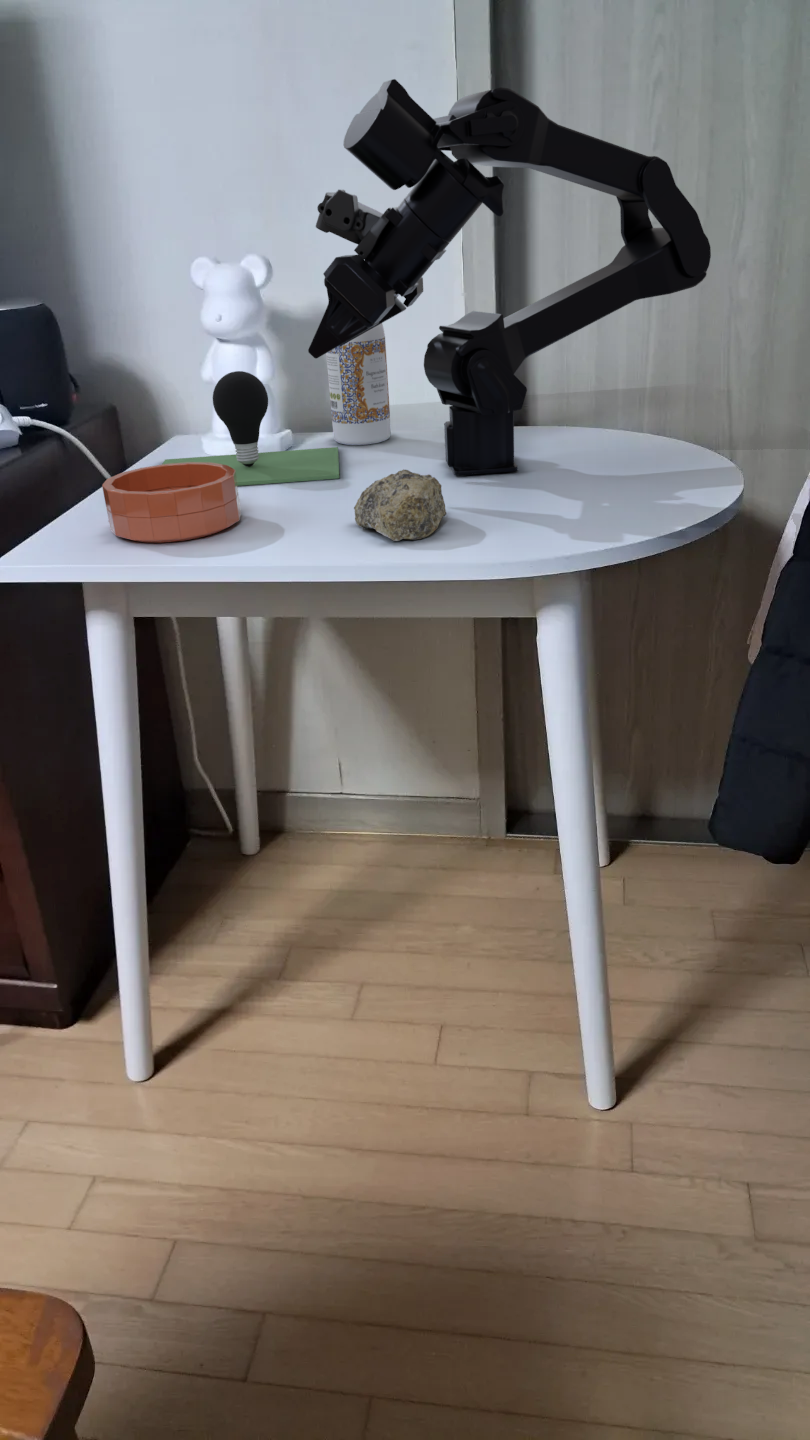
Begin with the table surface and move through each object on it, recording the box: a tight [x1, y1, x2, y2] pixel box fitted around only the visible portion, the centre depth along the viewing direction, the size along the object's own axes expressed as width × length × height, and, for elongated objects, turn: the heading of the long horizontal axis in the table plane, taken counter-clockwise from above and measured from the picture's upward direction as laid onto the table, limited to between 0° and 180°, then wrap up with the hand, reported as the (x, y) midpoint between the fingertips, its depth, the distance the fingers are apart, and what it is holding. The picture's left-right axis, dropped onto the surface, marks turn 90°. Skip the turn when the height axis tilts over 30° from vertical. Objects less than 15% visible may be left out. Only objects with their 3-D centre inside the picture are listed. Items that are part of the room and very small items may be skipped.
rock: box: [353, 469, 447, 542], centre depth 88 cm, size 7×8×4 cm
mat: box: [162, 446, 340, 487], centre depth 113 cm, size 20×14×1 cm
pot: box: [101, 462, 242, 544], centre depth 93 cm, size 12×12×4 cm
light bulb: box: [212, 370, 269, 467], centre depth 111 cm, size 6×6×10 cm
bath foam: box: [325, 323, 392, 446], centre depth 120 cm, size 7×7×20 cm
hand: (324, 348), depth 104 cm, fingers open, 9 cm apart
